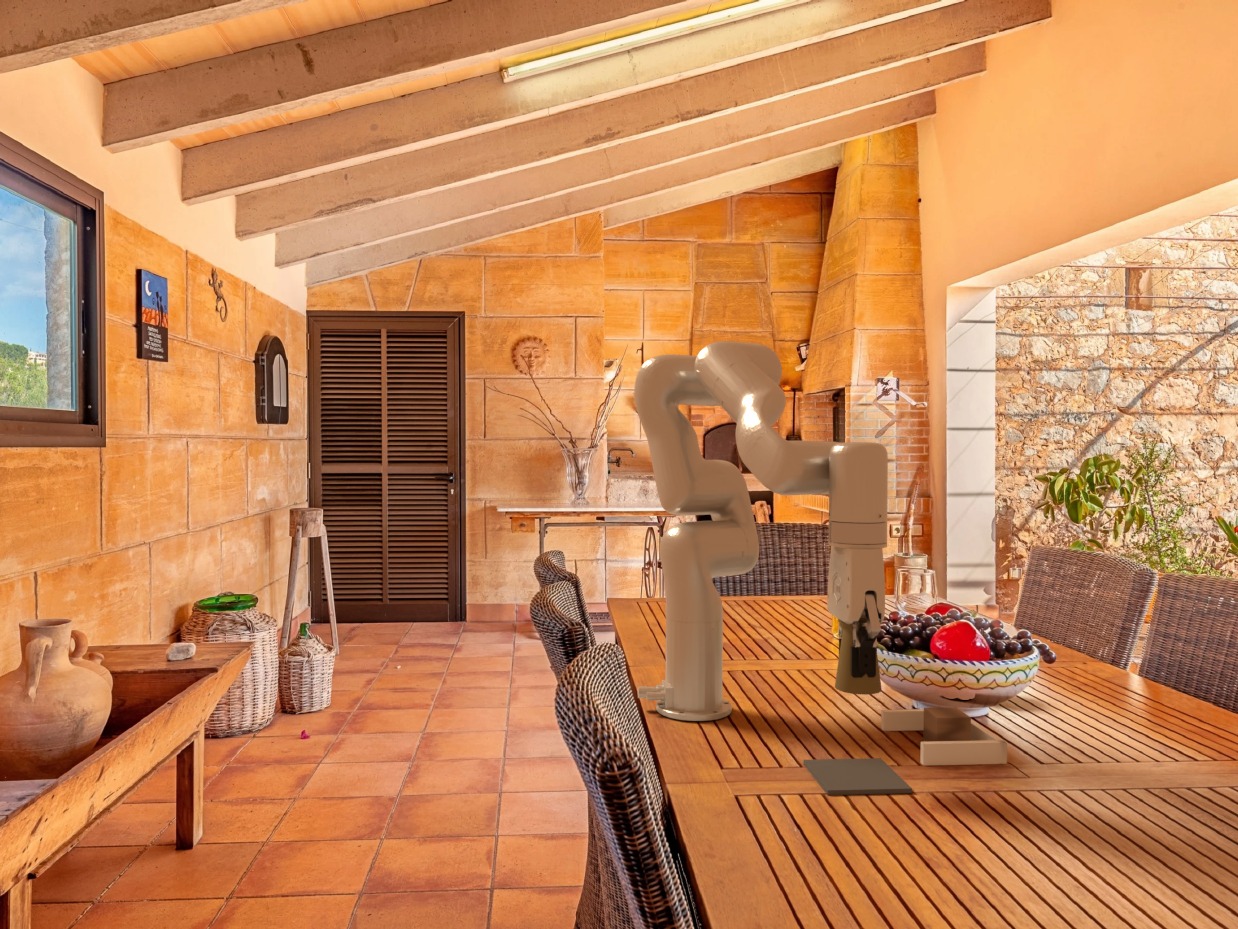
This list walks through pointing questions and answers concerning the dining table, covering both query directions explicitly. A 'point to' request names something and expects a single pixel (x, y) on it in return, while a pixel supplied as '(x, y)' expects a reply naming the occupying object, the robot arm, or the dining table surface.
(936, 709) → the walnut block
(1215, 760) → the dining table surface
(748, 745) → the dining table surface
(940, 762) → the tray
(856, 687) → the cork
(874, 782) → the mat
